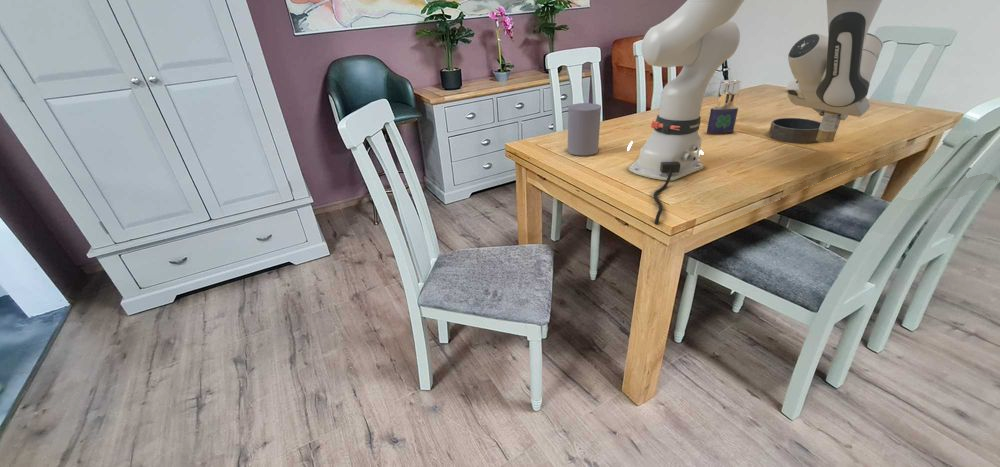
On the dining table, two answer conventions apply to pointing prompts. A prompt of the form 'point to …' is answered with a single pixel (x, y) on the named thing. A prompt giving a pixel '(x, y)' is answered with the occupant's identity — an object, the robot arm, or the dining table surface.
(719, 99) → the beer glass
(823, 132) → the sprinkles bottle
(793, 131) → the pan
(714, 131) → the blue clover tile
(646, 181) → the dining table surface
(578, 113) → the container
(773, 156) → the dining table surface
